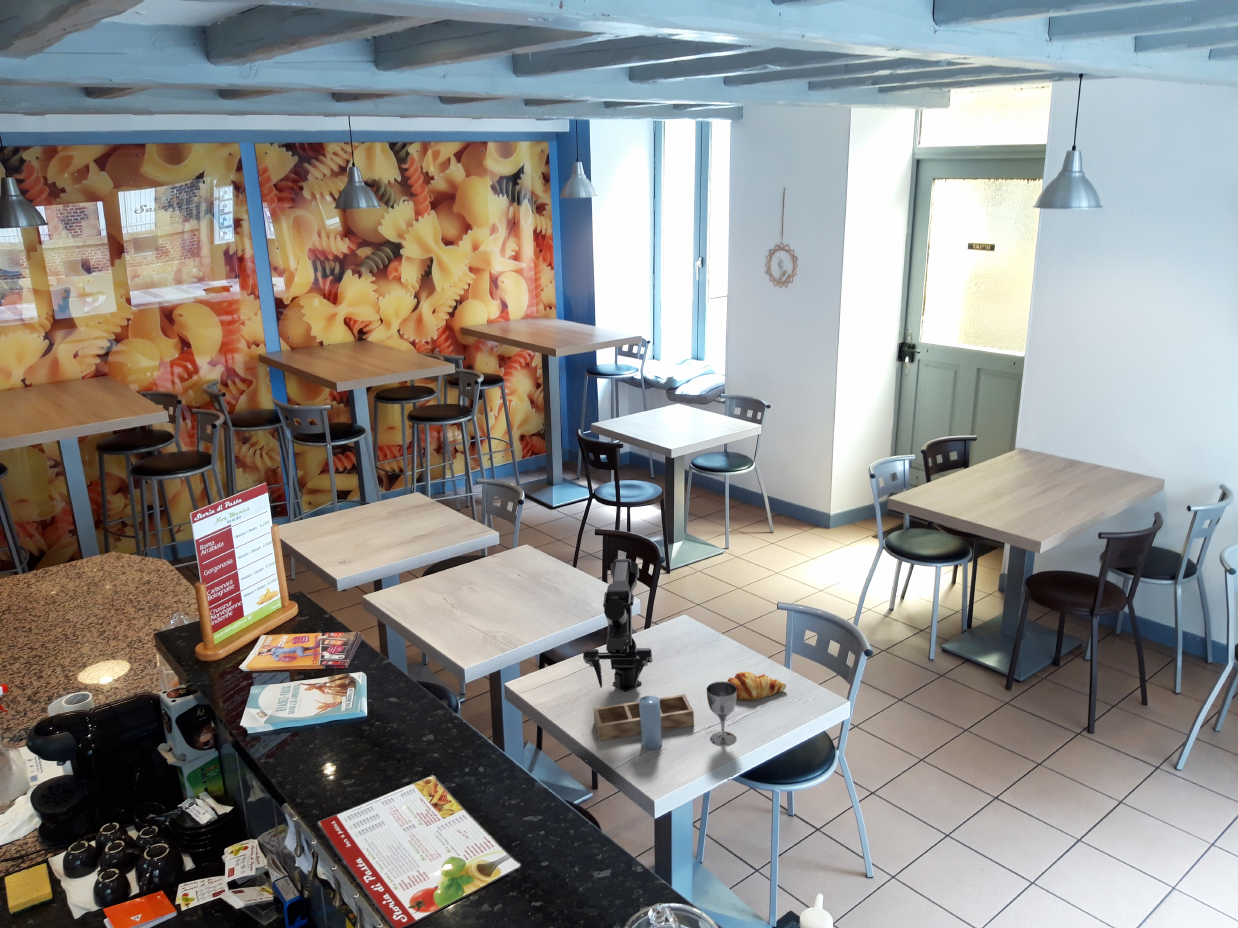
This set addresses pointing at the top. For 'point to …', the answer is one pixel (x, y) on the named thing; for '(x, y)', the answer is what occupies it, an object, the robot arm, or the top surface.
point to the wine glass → (722, 709)
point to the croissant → (755, 686)
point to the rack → (627, 717)
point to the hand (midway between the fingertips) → (617, 686)
